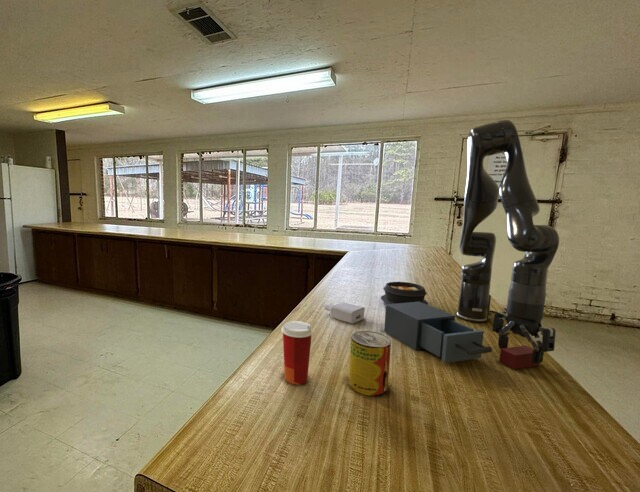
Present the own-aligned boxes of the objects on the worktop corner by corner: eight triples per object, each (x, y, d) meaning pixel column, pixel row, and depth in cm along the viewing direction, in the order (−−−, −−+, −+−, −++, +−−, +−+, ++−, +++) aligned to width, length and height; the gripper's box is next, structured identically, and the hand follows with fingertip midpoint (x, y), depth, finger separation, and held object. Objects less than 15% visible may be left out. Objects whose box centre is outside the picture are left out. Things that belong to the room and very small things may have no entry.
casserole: (424, 317, 123) (426, 296, 122) (373, 308, 134) (375, 288, 132) (431, 301, 143) (432, 282, 142) (386, 294, 154) (388, 277, 153)
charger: (330, 308, 133) (364, 318, 122) (317, 313, 127) (351, 324, 116) (331, 297, 133) (364, 306, 121) (317, 302, 127) (351, 312, 115)
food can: (369, 400, 72) (372, 350, 70) (340, 380, 80) (342, 335, 78) (396, 389, 76) (399, 342, 74) (366, 371, 84) (369, 328, 82)
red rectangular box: (523, 358, 91) (525, 345, 91) (539, 365, 88) (541, 351, 87) (499, 362, 89) (500, 348, 89) (513, 369, 85) (515, 355, 85)
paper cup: (313, 373, 83) (314, 322, 81) (309, 389, 76) (310, 334, 74) (284, 368, 86) (284, 318, 84) (277, 383, 79) (277, 329, 77)
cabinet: (452, 345, 100) (455, 315, 98) (415, 350, 96) (418, 319, 95) (417, 327, 114) (419, 301, 112) (384, 331, 110) (385, 304, 109)
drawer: (498, 366, 85) (501, 338, 84) (460, 372, 82) (463, 343, 81) (441, 337, 103) (443, 314, 102) (408, 342, 100) (410, 318, 99)
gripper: (567, 306, 80) (558, 367, 82) (509, 291, 94) (503, 343, 96) (545, 308, 78) (536, 370, 80) (489, 292, 92) (483, 346, 94)
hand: (518, 355), depth 88 cm, fingers open, 8 cm apart
